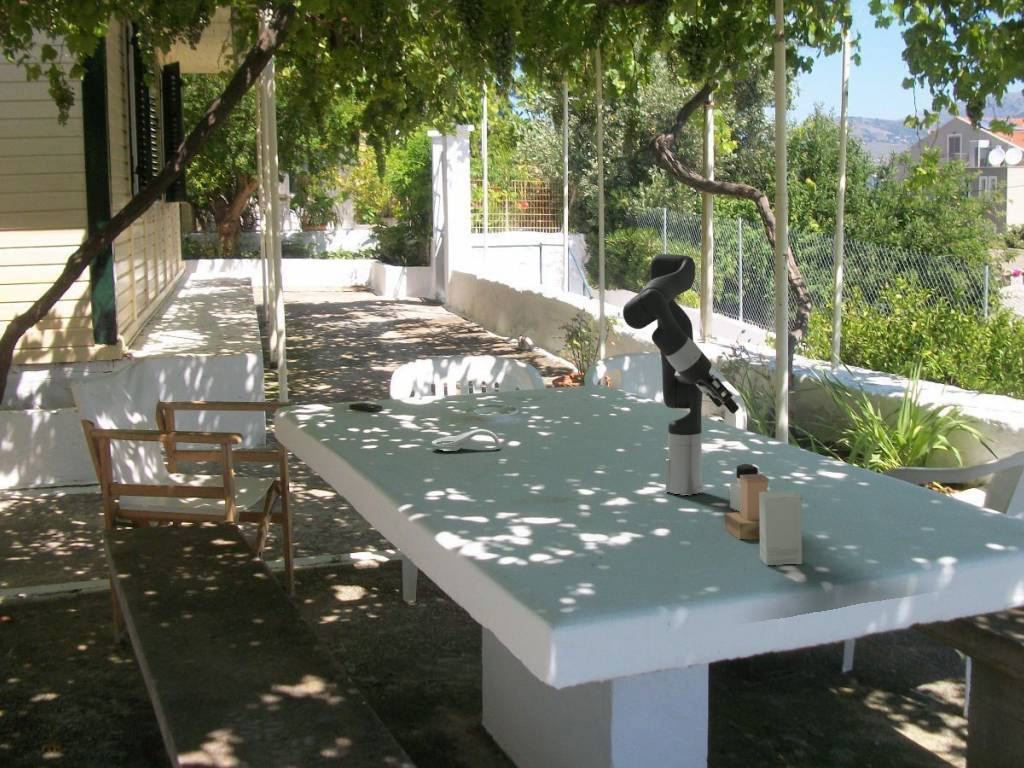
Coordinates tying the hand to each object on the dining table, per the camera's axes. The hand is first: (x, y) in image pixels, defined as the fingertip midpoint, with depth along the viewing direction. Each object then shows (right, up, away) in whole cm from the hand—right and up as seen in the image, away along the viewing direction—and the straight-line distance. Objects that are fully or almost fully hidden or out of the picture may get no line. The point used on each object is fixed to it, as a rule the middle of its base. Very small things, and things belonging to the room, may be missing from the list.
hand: (728, 407), depth 287 cm
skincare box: (+7, -34, -23) cm, 42 cm away
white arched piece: (-68, -17, +125) cm, 143 cm away
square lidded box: (+7, -27, +2) cm, 28 cm away
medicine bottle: (+10, -28, +28) cm, 40 cm away
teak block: (+7, -31, +3) cm, 31 cm away
